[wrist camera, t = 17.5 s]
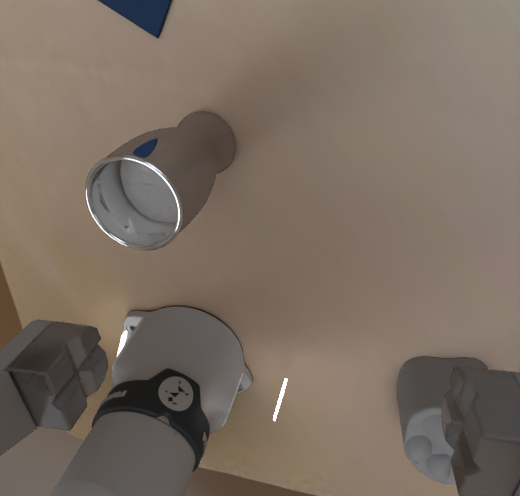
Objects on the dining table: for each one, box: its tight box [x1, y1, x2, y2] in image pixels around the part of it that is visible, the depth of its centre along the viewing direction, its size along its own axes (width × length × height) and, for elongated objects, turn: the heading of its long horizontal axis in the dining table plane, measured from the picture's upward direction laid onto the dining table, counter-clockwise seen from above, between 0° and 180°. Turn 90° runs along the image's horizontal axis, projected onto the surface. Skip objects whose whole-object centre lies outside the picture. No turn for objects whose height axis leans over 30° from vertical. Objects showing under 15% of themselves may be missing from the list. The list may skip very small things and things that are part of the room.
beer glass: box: [85, 111, 236, 250], centre depth 30 cm, size 7×7×15 cm
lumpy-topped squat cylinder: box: [397, 357, 488, 484], centre depth 43 cm, size 10×13×9 cm
